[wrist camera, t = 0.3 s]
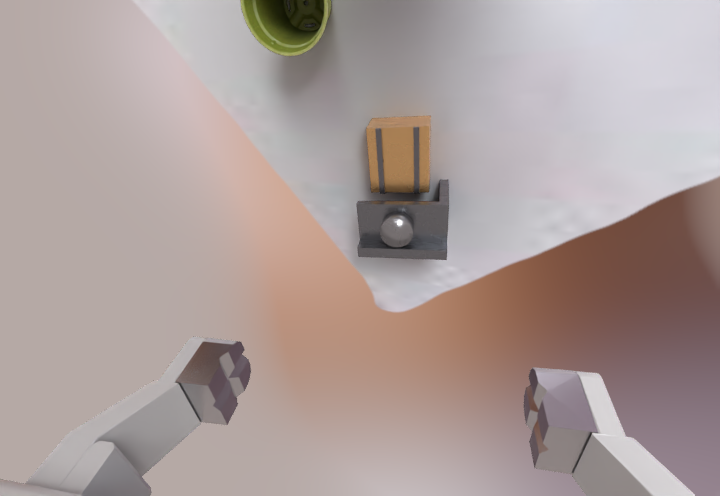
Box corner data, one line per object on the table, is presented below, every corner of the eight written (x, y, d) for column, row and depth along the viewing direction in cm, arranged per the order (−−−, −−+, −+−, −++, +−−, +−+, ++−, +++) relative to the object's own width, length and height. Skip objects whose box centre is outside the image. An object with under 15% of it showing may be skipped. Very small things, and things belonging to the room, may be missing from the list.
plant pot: (339, -53, 42) (318, -61, 35) (350, 42, 47) (333, 51, 40) (262, -40, 44) (228, -45, 37) (281, 50, 49) (253, 60, 42)
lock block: (372, 117, 52) (365, 129, 48) (430, 115, 51) (429, 127, 46) (376, 178, 57) (370, 193, 53) (430, 177, 56) (428, 193, 51)
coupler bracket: (366, 179, 57) (353, 211, 49) (448, 179, 55) (448, 212, 47) (369, 221, 61) (358, 256, 53) (446, 222, 59) (446, 259, 51)
